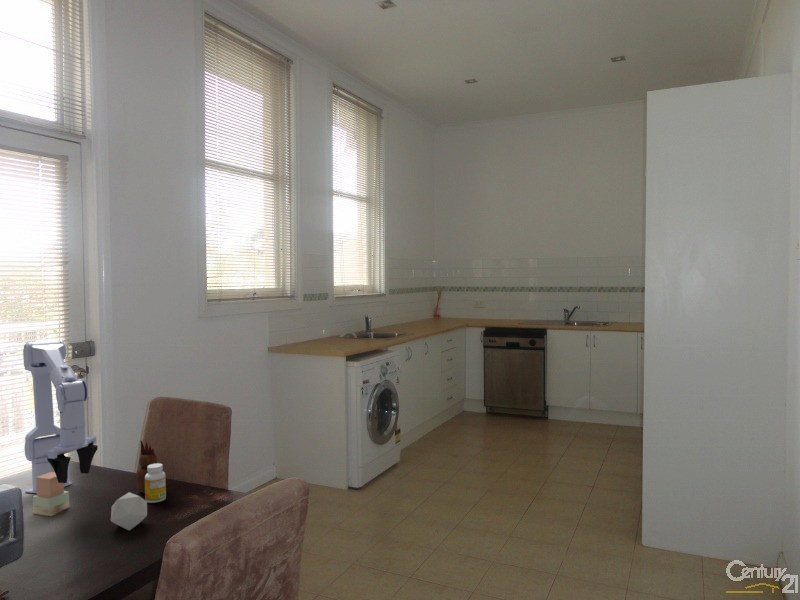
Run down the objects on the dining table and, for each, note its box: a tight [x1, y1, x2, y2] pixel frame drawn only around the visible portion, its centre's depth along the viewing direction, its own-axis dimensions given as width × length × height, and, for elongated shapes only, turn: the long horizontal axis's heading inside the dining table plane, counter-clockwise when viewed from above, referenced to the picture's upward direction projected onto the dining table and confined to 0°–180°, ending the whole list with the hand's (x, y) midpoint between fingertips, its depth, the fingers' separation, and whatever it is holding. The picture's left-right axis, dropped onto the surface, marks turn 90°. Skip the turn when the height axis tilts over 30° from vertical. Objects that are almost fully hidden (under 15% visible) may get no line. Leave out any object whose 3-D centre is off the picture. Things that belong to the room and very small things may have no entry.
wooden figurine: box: [135, 440, 158, 494], centre depth 172 cm, size 7×6×15 cm
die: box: [110, 491, 148, 532], centre depth 149 cm, size 8×9×10 cm
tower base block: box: [32, 500, 70, 517], centre depth 159 cm, size 6×6×2 cm
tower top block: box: [32, 490, 70, 509], centre depth 159 cm, size 6×6×2 cm
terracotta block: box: [36, 472, 65, 498], centre depth 159 cm, size 4×4×5 cm
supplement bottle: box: [144, 462, 167, 504], centre depth 166 cm, size 5×5×10 cm
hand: (73, 477), depth 157 cm, fingers open, 7 cm apart
